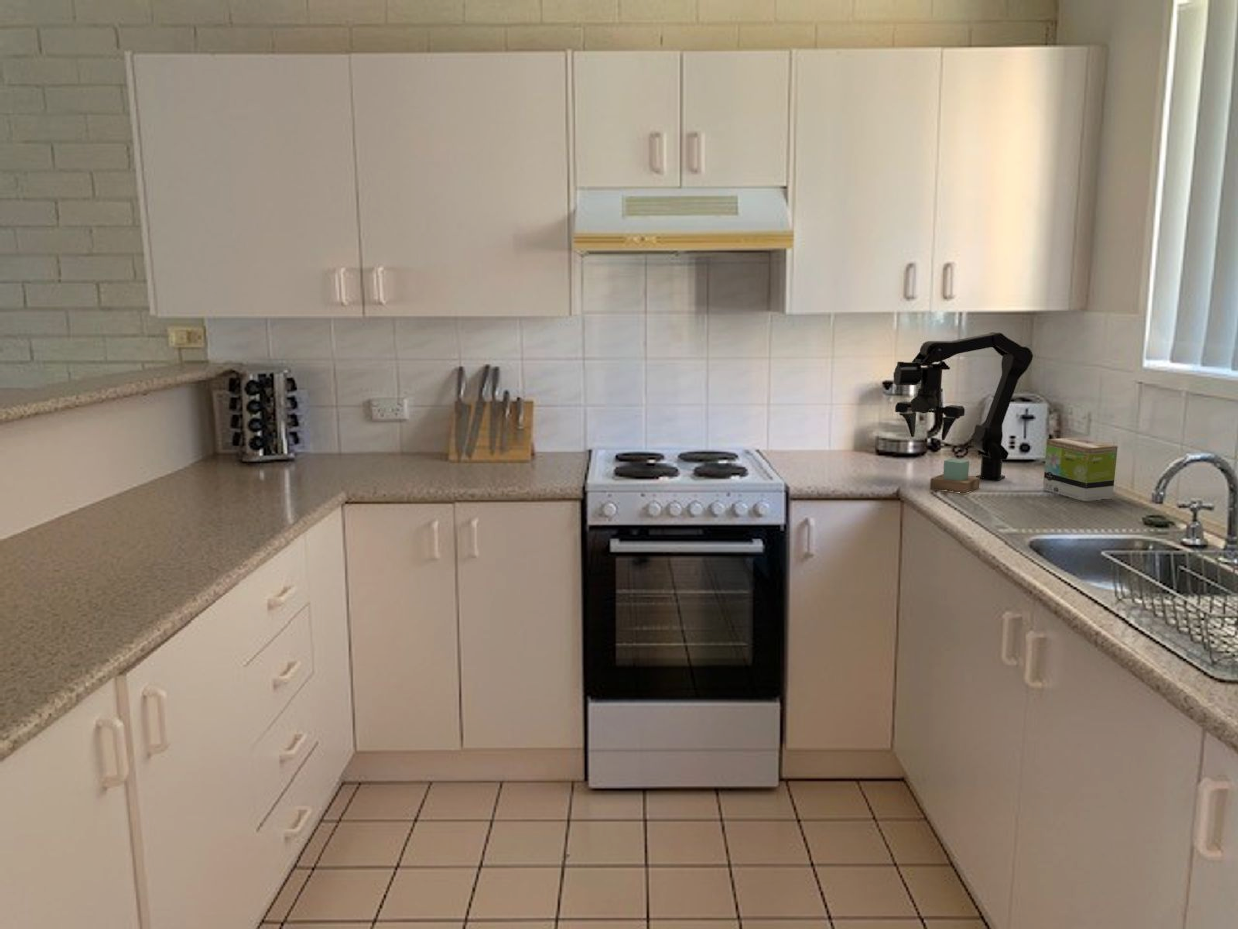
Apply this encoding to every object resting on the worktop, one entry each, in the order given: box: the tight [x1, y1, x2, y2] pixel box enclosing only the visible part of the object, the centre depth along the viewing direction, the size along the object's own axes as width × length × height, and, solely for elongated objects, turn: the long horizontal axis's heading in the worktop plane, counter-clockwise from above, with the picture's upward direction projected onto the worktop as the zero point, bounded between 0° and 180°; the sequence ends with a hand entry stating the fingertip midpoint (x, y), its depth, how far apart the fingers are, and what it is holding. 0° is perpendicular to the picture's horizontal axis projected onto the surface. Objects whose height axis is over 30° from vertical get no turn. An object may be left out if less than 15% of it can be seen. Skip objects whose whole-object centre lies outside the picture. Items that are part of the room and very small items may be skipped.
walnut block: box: [929, 473, 981, 494], centre depth 257 cm, size 10×10×4 cm
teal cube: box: [942, 458, 970, 481], centre depth 256 cm, size 5×5×5 cm
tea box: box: [1042, 436, 1119, 502], centre depth 248 cm, size 15×10×15 cm, turn 19°
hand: (927, 438), depth 269 cm, fingers open, 9 cm apart
